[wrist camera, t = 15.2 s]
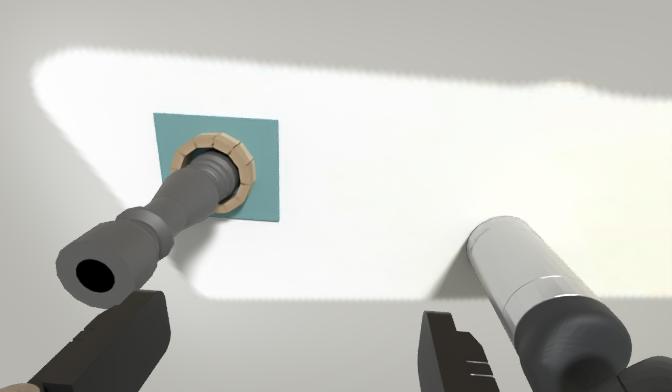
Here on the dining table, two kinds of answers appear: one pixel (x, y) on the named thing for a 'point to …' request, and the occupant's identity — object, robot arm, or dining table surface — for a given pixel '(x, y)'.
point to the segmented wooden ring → (236, 154)
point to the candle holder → (144, 233)
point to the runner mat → (251, 132)
